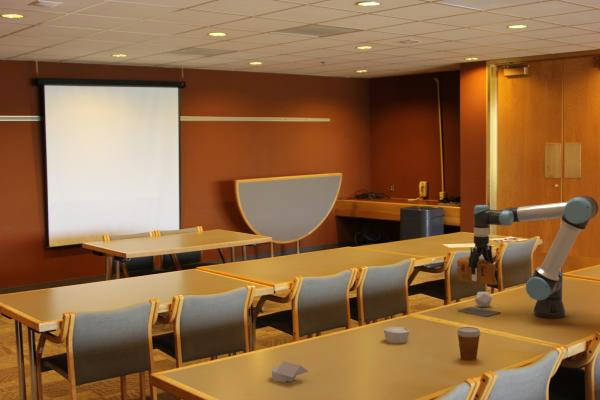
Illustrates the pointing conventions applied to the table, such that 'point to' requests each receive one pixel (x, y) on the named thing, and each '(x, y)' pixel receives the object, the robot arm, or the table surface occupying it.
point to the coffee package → (483, 271)
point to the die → (483, 299)
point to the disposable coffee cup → (468, 342)
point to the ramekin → (396, 334)
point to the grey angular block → (287, 372)
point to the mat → (479, 311)
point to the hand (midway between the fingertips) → (480, 279)
